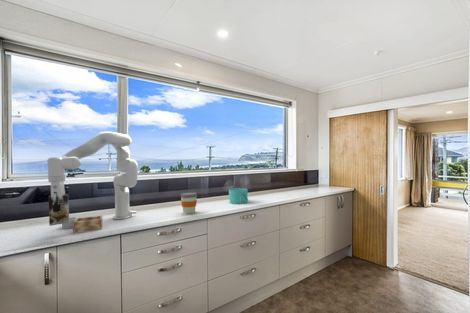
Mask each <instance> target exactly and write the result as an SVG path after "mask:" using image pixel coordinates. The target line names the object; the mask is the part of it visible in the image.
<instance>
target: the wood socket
mask: <svg viewBox="0 0 470 313" xmlns="http://www.w3.org/2000/svg"><path fill="white" fill-rule="evenodd" d="M103 225H104V224H103V215H102V214H101V215H95V216H94V215H93V216H86V217H85V216H84V217H83V216H82V217H78V218H76V220H75V221H74V228H73V234H75V233H83V232H90V231H97V230H102V228H103Z"/></svg>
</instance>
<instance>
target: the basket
mask: <svg viewBox="0 0 470 313" xmlns="http://www.w3.org/2000/svg"><path fill="white" fill-rule="evenodd" d="M248 192H249V190H248V188H245V187H243V188H241V187H238V188H237V187H234V188H232V187H231V188H228V196H229V197H228V198H229V200H228V201H229V204H232V205H243V204H247V203H248V201H249V198H248V194H249V193H248Z"/></svg>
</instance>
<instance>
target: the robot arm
mask: <svg viewBox="0 0 470 313" xmlns="http://www.w3.org/2000/svg"><path fill="white" fill-rule="evenodd" d="M131 144H132V138H131V137H130V135H128V134H125V133H120V132H114V131H104V132H99V133H97V134H96V135H95V136H93V137H91V138H90V139H89V140H87V141H86V142H85V143H83V144H81V145H78V146H77V147H74V148H73V149H72V150H69V151H68V152H67V153H65V154H63V155H62V156H60V157H58V156H57V157H48V158H47V162H46V163H47V178H48V180H47V182H48V183H50V195H51V199H52V200H53V212H58V211H60V204H59V202H60V198H61V199H63V195H64V194H66V190H65V183H64V182H65V181H66V175H65V174H66V173H65V172H66V170H75V169H78V168H80V167H81V165H82V160H81V159H83V158H86V157H91V156H93V155H95V154H97V153H98V152H99V151H100V150H101V149H103V148H104V147H105V146H106V145H111V146H112V147H113V148H114V150H116V153H117V154H116V170H117V171H118V172H120V173H119V174H116V175H115V176H114V177H113V180H112V182H113V187H114V207H115V208H114V215H113V216H112V219H114V220H125V219H130V218H132V217H133V215H132V214H135V215H136V214H137V210H131V209H130V189H129V188H131V189H132V188H134V187H135V186H136V185H137V183H138V174H139V173H138V172H139V170H138V169H139V164H138V162H137V161H136V160H135V159H131V152H130V149H129V146H130V145H131ZM52 197H53V198H52ZM57 197H59V198H58V199H56V198H57ZM57 200H58V201H57Z"/></svg>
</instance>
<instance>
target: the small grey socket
mask: <svg viewBox="0 0 470 313" xmlns="http://www.w3.org/2000/svg"><path fill="white" fill-rule="evenodd" d="M76 218H79V216H72V217H71V216H70V217H69V223H64V224H61V229H62V230H64V229H65V230H66V229H72V228H73V229H74V221H75V220H76Z"/></svg>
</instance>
